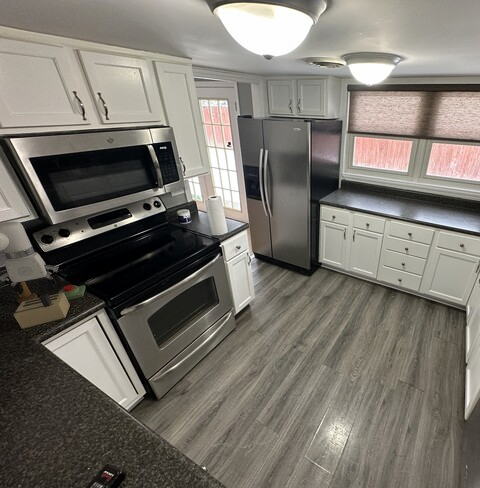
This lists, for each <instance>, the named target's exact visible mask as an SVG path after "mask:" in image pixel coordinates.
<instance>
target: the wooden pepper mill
mask: <svg viewBox="0 0 480 488" xmlns="http://www.w3.org/2000/svg"><path fill="white" fill-rule="evenodd" d="M20 283H21V285H22V287H23V289H24V291H23V292H22V294H19V293H18V292H16V293H17V295H18V297H17V298H16V302H17V304H18V305H20V304H21V302H24V301H28V300H33V299H37V298H39V296H38V295H37V294H36V293H35V292H31V291H30V289H29V287H28V284H27V283H26V281H22V282H20Z"/></svg>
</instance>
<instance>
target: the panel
mask: <svg viewBox="0 0 480 488" xmlns="http://www.w3.org/2000/svg"><path fill="white" fill-rule="evenodd" d="M73 287H74V289H73V290H71V291H68V292H64V289H63V288H62V289H60V290H59V291H58V293H57V294H60V293H64V294H65V296H66V298H67V300H68V301H71V300H75V299H79V298H84V294H85V291H86V289H87V288H86V285H85V284H83V285H79V286H77V285H73Z"/></svg>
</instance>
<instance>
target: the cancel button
mask: <svg viewBox="0 0 480 488" xmlns="http://www.w3.org/2000/svg"><path fill="white" fill-rule="evenodd" d="M73 286H74V285H72V284H68V285H65V286H63V288H62V289H64V292H68V291H71V290H73V289H74V287H73Z"/></svg>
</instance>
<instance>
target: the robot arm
mask: <svg viewBox="0 0 480 488" xmlns="http://www.w3.org/2000/svg"><path fill="white" fill-rule="evenodd" d="M0 257H5V258H4V259H3V260H4V261H3V262H4V267H5V269H6V272H5V273H3V274H2V275H0V281H1V282H3V283H4V284H6V285H9V286H11V287H13V288H14V289H13V290H14V291H15V292H16V293H17V292H18V293H19V294H22V292H23V291H24V289H23V287H22V285H21V283H20V282H22V281H25V282H27V281H33V280H37V279H38V280H39V279H43V278H46V279H47V283H48V284H49V286H50V288H51V289H52V288H53V289H54V288H55V286H56V285H57V281H56V279H55V276H57V274H58V271H59V268H60V266H57V265H50V264H47V263H46V262H45V261H44V259H43V258H42V256H41V255H40V254H39V253H38V252H37V251H35V250H34V248H33V245H32V243H31V241H30V239H29V237H28V235H27V233H26V230H25V228H24V225H23V224H22V223H21V222H19V221H4V222H0ZM49 270H52V272H50V271H49ZM7 277H8V278H7ZM18 293H17V294H18Z"/></svg>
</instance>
